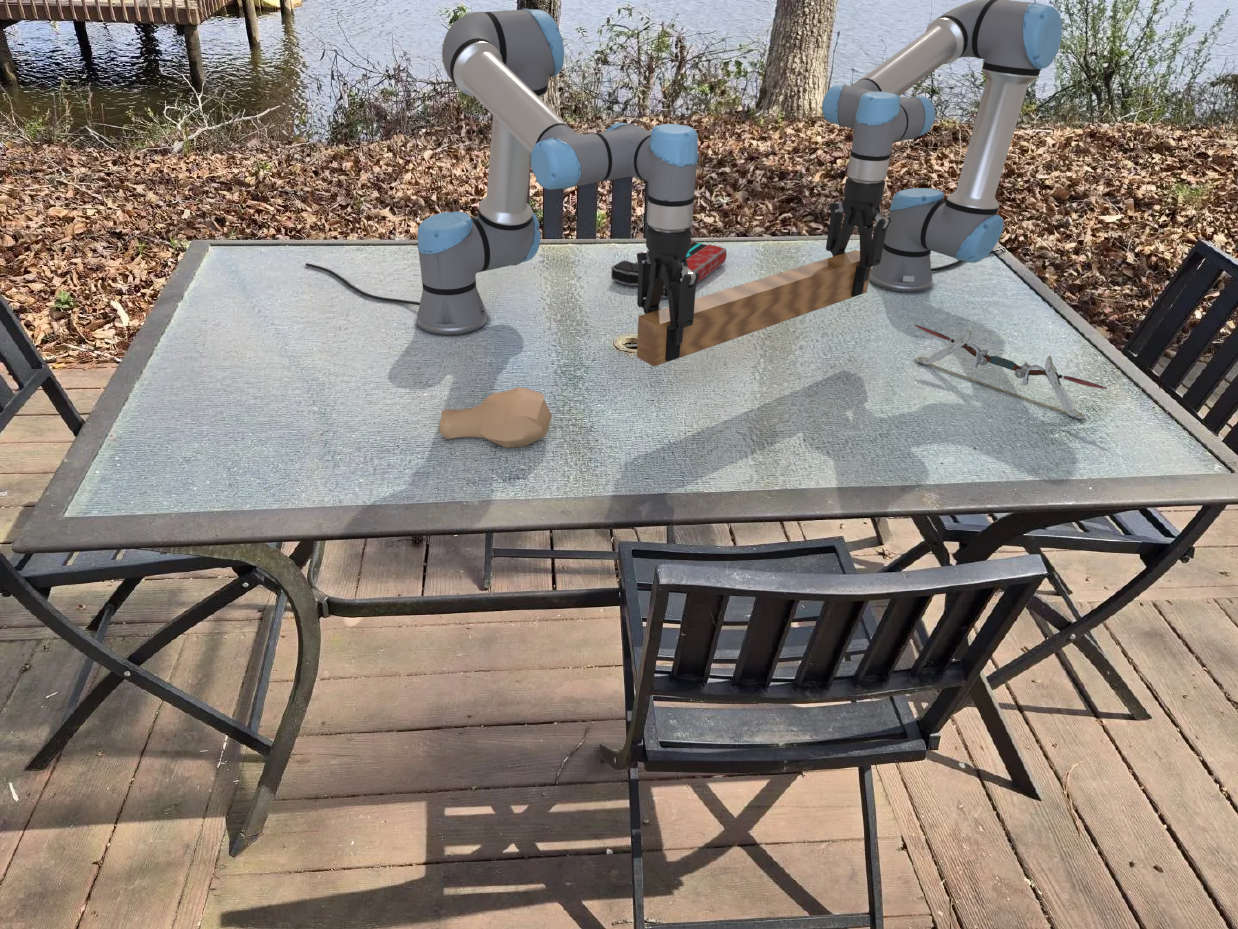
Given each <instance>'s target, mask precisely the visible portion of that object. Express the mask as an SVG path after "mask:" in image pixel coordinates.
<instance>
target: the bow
mask: <svg viewBox="0 0 1238 929" xmlns="http://www.w3.org/2000/svg"><path fill="white" fill-rule="evenodd" d="M914 326H915V327H916V328H918V329H920V330H921V331H924V333H925V332H926V333H928V334H930V335H932V336H935V337H937V338H940V339H943V340H946V341H949V342H950V343H951V345H949V346H945V347H943V348H941V349H939V350H937V351H935V352H934V353H933V354H931V355H930V356H927V357H923V356H918V357H917V358H916V361H917V362H918V363H920V364H922V365H929V366H931V367H934V368H937V369H940V370H943V371H946V372H949V373H952V374H954V375H957V376H960V377H963V378H966V379H969V380H971V381H973V382H976V383H979V384H983V385H985V386H988V387H991V388H993V389H997V390H999V391H1003V392H1005V393H1009V394H1010V395H1014V396H1016V397H1019V398H1022V399H1025V400H1027V401H1030V402H1033V403H1037V404H1040V405H1042V406H1045V407H1048V408H1050V409H1054V410H1056V411H1059V412H1062V413H1063V414H1064V413H1065V414H1067V415H1069V416H1070V417H1072V418H1075V419H1079V420H1082V419H1083V418H1085V416H1086V415H1085V414H1083V413H1082V412H1080V411H1079V410H1078V409H1076V408H1075V407H1074V405H1073V402H1072V399H1071V396H1070V395H1069V393H1068V391H1067V390H1066V388H1065V386H1064V385H1062V382H1061V380H1060V379H1062V378H1063V379H1064V380H1066V381H1069V382H1072V383H1076V384H1078V385H1082V386H1087V387H1090V388H1096V389H1103V390H1107V389H1108V387H1106V386H1103V385H1101V384H1097V383H1095V382H1091V381H1089V380H1084V379H1081V378H1078V377H1073V376H1070V375H1069V376H1068V375H1062V374H1059V372H1058V369H1057V367H1056V366H1055V364H1054V362H1053V358H1052V355H1048V356H1047V357H1046V359H1045V363H1044V367H1043V366H1040V365H1039V364H1033V365H1030V363H1028V362H1027V361H1025V362H1024V363H1023V364H1021V365H1018V364H1017V363H1016V362H1014V360H1010V359H1007V358H1004V357H1001V356H998V355H989V349H987V348H986V349H981V348H980V347H979V346H978V345H976V343H975V344H974V343H968V342H969V341H970V340H971V337H972V333H973V330H969V331H967V332H966V333H965V334H964V335H962V336H960V337H958V338H957V339H954V338H951V337H949V336H947V335H945V334H943V333H941V332H938V331H935V330H933V329H929V328H928V327H924V326H922V325H917V324H914ZM963 349H964V350H965V351H967V352H968V353H969V354H970V355H972V356H973V357H974V358H975V359H974V361H973V362H972V365H971V368H972V369H976V368H978V365H980V366H983V367H985V365H987V364H988V363H990V364H992V365H995V366H998V367H1002V368H1005V369H1007V370H1010V371H1014V376H1015V377H1016V378H1018V379H1022V381H1021V382H1022V383H1021V386H1024V387H1027V386H1028V385H1029V381H1030V378H1029V377H1030V376H1045V378H1047V380H1048V382H1049V383H1050V386H1051V387H1052V388H1053V390H1054V392H1055V395H1056V397H1057V398H1058V400H1059V403H1060V405H1061V407H1062V408H1063V410H1062V409H1059V408H1056V407H1053V406H1050V405H1047V404H1044V403H1042V402H1040V401H1036V400H1033V399H1030V398H1027V397H1025V396H1022V395H1019V394H1016V393H1013V392H1011V391H1007V390H1005V389H1002V388H999V387H996V386H994V385H991V384H988V383H985V382H982V381H979V380H976V379H974V378H971V377H969V376H966V375H962V374H959V373H957V372H953V371H951V370H948V369H945V368H942V367H940V366H937V365H934V364H933V363H936V362H939V361H941V360H943V359H944V358H946V357H948V356H949V355H951V354H953V353H955V352H958V351H960V350H963Z"/></svg>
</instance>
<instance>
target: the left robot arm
mask: <svg viewBox="0 0 1238 929" xmlns="http://www.w3.org/2000/svg"><path fill="white" fill-rule="evenodd" d="M441 51H442V52H441V54H442V55H441V57H442V61H443V67H444V70H445V72H446V74H447V76H448V78H449V79H450V80H451V82H452V84H454V85H455V87H456V88H457V89H458V90H459V91H460V92H462V93H463V94H465V95H466V96H470V97H475V99H476V100H477V101H478V102H479V103H480V104H481V105H482V106H483V107H484V108H485V109H486V110H487V111H488V112H489V113H490V114H491V115H492V122H491V136H490V148H489V160H488V161H489V162H488V173H487V188H486V197H484V198H482V199H481V201H480V202H479V204H478V211H477V215H476V216H473V217H471V216H470V215H469V214H468V213H466V212H463V211H456V210H455V211H452V212H450V211H444V212H440V213H436V214H433V215H431V216H429V217H427V218H425V219H424V220H423V221H422V222H420V224H419V226H418V227H417V232H416V233H417V245H416V248H417V250H418V258H419V259H418V260H419V267H420V275H421V276H420V277H421V284H422V292H421V297H420V301H413V300H405V299H399V298H391V297H383V296H378V295H373V294H370V293H367V292H365V291H362V290H361V289H360V288H358V287H356V286H354V285H352V284H351V283H350V282H348V281H347V280H346V279H345V278H343V277H342V276H341V275H339V274H337V273H336V272H334V271H332V269H328V268H326V267H323V266H320V265H316V264H312V263H308V262H306V263H305V266H306V267H309V268H313V269H317V270H319V271H324V272H326V273H328V274H330V275H332V276H333V277H335V278H337V279H338V280H339V281H341V282H343V283H344V284H345V285H346V286H348V287H349V288H350V289H352V290H353V291H355V292H357V293H359V294H360V295H362V296H365V297H367V298H370V299H374V300H378V301H383V302H390V303H398V304H400V303H401V304H407V305H412V306H413V305H414V306H418V310H417V315H416V318H417V325H418V326H419V328H420V329H421V330H423V331H424V332H427V333H430V334H433V335H440V336H459V335H465V334H469V333H473V332H476V331H477V330H480V329H481V328H483V327H484V326H485V325H486V323H487V320H488V316H487V310H486V306H485V304H484V302H483V299H482V298H481V295H480V293H479V291H478V288H477V278H476V277H477V276H476V274H477V273H478V274H479V273H483V272H488V271H492V270H496V269H501V268H506V267H510V266H517V265H521V264H522V263H526V262H529V261H531V260H532V259H533V258H534V257H535V256H536V254H537V253H538V251H539V248H540V244H541V238H542V237H541V235H542V234H541V233H542V232H541V230H540V226H541V225H540V222H539V218H538V217H537V215H536V214H535V213H534V211H533V208H532V206H531V205H530V204H529V203H528V194H529V186H530V178H531V177H530V176H531V171H532V174H533V175H534V176H535V180H536V182H537V184H538V185H539V186H540V187H541V188H543V189H546V190H550V191H551V190H559V189H561V190H567V189H571V188H574V187H581V186H585V185H589V184H590V185H591V184H595V183H601V182H607V181H613V180H618V179H624V178H629V177H631V178H632V177H634V178H636V179H638V180H642V181H643V182H646V183H648V184H647V186H648V190H647V192H648V193H647V207H646V223H647V227H646V232H645V233H646V234H645V235H646V236H645V247H646V250H644V251H639V252H637V254H636V259H637V260H636V261H638V265H639V270H638V286H637V299H636V305H637V307H638V308H641V309H643V313H644V314H647V313H650V312H654V311H657V310H660V309H662V308H661V306H660V303H661V299H662V297H661V296H662V292H663V288H664V287H665V289H667V294H668V298H667V302H668V307H669V313H670V323H671V325H669V326H667V338H666V355H665V360H666V361H667V362H666V363H669V362H672V361H675V360H678V359H680V358H679V356H680V344H681V343H682V341H683V328H685V327H688V326H691V325H693V318H694V305H695V299H696V291H697V290H696V289H697V284H698V283H697V281H698V279H699V273H698V272H692V271H691V270H690V269H689V268H688V263H687V259H686V255H687V253H688V251H689V250H690V248H691V239H693V238H692V236H693V229H692V227H691V226H692V225H693V221H694V204H695V192H696V180H697V169H698V160H699V135H698V132H697V131H696V129H694V128H693V127H692V126H689V125H684V124H683V125H682V124H679V123H664V124H663V123H662V124H658V125H656V126H654V127H653V128H652V129H651V131H650V130H648V129H645V128H642V127H640V126H639V125H636V124H634V123H627V122H617V123H614V124H612V125H611V126H609V127H608V128H606V130H604V131H600V132H592V133H591V132H590V133H586V134H585V133H584V134H578V133H577V132H576V131H575V130H574V129H573V128H572V127H570V126H569V125H568V124H567V123H566V121H565V120H563V118H561V117H560V116H559V115H558V113H556V112H555V110H553V109H552V108H551V107H550V106H549V104H547V103H546V102H545V101H544V100H542V97H543V96H544V95H546V94H547V92H548V88H549V80H550V78H553V77H556V76H557V75H558V74H559V73H560V72H561V71H562V70H563V67H564V62H565V47H564V42H563V37H562V34H561V32H560V28H559V27H558V24H557V22H556V21H555V19H554V18H553V17H552V15H550V14H549V13H548V12H547V11H545V10H544V9H543V10H542V9H529V8H522V9H509V10H494V11H493V10H492V11H473V12H470V13H466V14H465V15H462V16H461V17H459V18H458V19H457V20H455V21H454V22H453V24H451V25H450V27H449V28H448V30H447V32H446V34H445V36H444V39H443V42H442V50H441ZM675 281H676V282H675ZM672 282H673V283H672ZM677 358H678V359H677ZM674 359H675V360H674Z"/></svg>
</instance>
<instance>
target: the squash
mask: <svg viewBox="0 0 1238 929" xmlns="http://www.w3.org/2000/svg"><path fill="white" fill-rule="evenodd" d="M440 414H441V417H440V422H439V430H438V431H439V433H440V434H441V435H442V436H443V437H444V438H445V440H447V439H449V440H451V439H457V438H469V437H471V438H473V437H474V438H480V439H486V440H488V441H490V442H492V443H494V444H496V445H498V446H501V447H503V448H504V449H505V448H506V449H511V448H525V447H527V446H529V445H532V444H533V443H536V442H537V441H539V440H541V439H543V438H545V437H546V435H547V433H548V431H549V428H550V424H551V420H552V417H553V416H552V413H551V411H550V408H549V407H548V404H547V403H546V401H545V395H544V393H541V392H539V391H535V390H532V389H530V388H525V387H515V388H512V389H509V390H506V391H498V392H493V393H491V394H490V395H488V396H487V397H485V398H484V399H483V401H482V402H481V403H479V404H478V405H477V404H476V406H474V407H471V408H470V407H469V408H463V409H447V408H446V409H444V410H441V411H440Z"/></svg>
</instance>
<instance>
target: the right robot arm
mask: <svg viewBox="0 0 1238 929" xmlns="http://www.w3.org/2000/svg"><path fill="white" fill-rule="evenodd" d="M1062 36H1063V22H1062V19H1061V15H1060V12H1059V11H1058V9H1057V8H1056V7H1054V6H1052V5H1048V4H1043V3H1039V2H1029V1H1020V0H971V1H969V2H966V3H963V4H961V5H959V6H956V7H954V8H952V9H950V10H948V11H946V12H945V13H943V14H942V15H940V16H939V17H937V18H935V19H934V20H933V21H931V22H930V23H929V25H928V26H927V27H926V30H925V32H924V33H923V34H921V35H920V36H919V37H917V38H916V39H914V40H913V41H911V42H910V43H908V44H907V45H906V46H904V47H903V48H901V49H900V50H898V51H897V52H896V53H895V54H893V55H892V56H890V57H889V58H888V59H887V60H885V61H884V62H882V63H881V64H879V65H878V66H877V67H875V68H874V69H872V70H871V71H869V72H868V73H867V74H865V75H863V77H861V78H860V79H858V80H857V81H856V82H854V83H853V84H852V85H847V84H833V85H832V86H831V87H829V89H828V90H827V91H826V93H825V95H824V97H823V100H822V103H821V108H822V116H823V118H824V119H825V121H826V122H829V123H831V124H834V125H837V126H839V127H844V128H849V129H852V130H853V134H852V135H853V137H852V142H851V143H852V144H851V148H850V154H849V158H848V164H847V171H846V175H847V177H846V179H845V182H844V183H845V184H844V189H843V197H844V198H843V199H842V201H836V202H833V203H830V205H829V209H830V219H829V226H828V231H827V238H826V245H825V250H826V251H827V252H829V253H831V255H832V257H834V256H837V255H840V254H844V253H847V251H846V249H847V246H848V244H849V241H850V239H851V237H852V234H853V232H854V229H855V227H856V228H857V233H858V234H859V251H860V265H858V266H856V271H855V277H854V282H853V288H852V293H851V296H852V298H856V297H858V296H860V295H861V296H862V295H863V294H862V293H863V287H864V282H865V281H867V280H868V277H869V271H870V267H872V268H871V273H870V278H869V282H871V283H872V284H873V285H874V286H877V287H878V288H881V289H883V290H887V291H889V292H890V291H891V292H896V293H904V294H905V293H906V294H915V293H921V292H925V291H928V290H929V289H930V288H931V287H932V284H933V283H932V282H933V273H932V272H938V271H943V270H947V269H950V268H953V267H956V266H958V265H960V264H962V263H963V262H966V263H971V264H975V263H979V262H982V260H984V259H985V258H986V257H987V256H989V255H993V254H995V253H997V252H998V251H1002V252H1003V253H1005V252H1006V249H1005V247H1003V249H1004V250H1005V251H1003V250H1002V249H1000V250H996V251H992V250H994V249H995V247H996V245H997V244H998V242H999V240H1000V238H1001V236H1002V234H1003V230H1004V218H1003V217H1002V216H1001V215H999V214H998V211H999V208H1000V203H999V202H998V200H997V199H996V195H997V191H998V187H999V184H1000V181H1001V177H1002V175H1003V171H1004V167H1005V164H1006V159H1007V157H1008V154H1009V151H1010V147H1011V144H1012V141H1013V136H1014V133H1015V131H1016V126H1017V123H1018V120H1019V117H1020V113H1021V111H1022V107H1023V104H1024V101H1025V97H1026V93H1027V90H1028V87H1029V85H1030V84H1031V83H1032V82H1033V81H1035V80H1036V79H1038V78H1039V77H1040V76H1039V75H1040V73H1041V71H1042V70H1043V69H1046V68H1048V67H1050V65H1051V64H1052V63H1053V62H1054V60H1055V57H1057V55H1058V52H1059V49H1060V46H1061V42H1062ZM960 58H961V59H962V58H976V59H981V60H983V64H982V68H981V71H982V73H983V74H984V76H985V79H986V80H985V84H984V87H983V91H982V95H981V99H980V102H979V107H978V109H977V113H976V116H975V120H974V123H973V128H972V132H971V134H970V139H969V142H968V146H967V150H966V153H965V157H964V160H963V163H962V168H961V170H960V175H959V179H958V182H957V185H956V189H955V190H954V192H951V193H950V194H949V195H947V197H946V200H944V199H945V193H944V191H942V190H940V189H938V188H937V189H935V188H929V187H927V188H926V187H922V188H921V187H916V188H906V189H902V190H899V191H897V192H896V193H895V194H894V195H893V197H892V199H891V200H892V201H891V203H890V206H889V209H888V210H889V212H888V216H887V217H886V216H884V214H882V213H881V206H880V204H881V202H882V200H883V197H884V192H885V187H886V182H885V180H886V178H887V175H888V171H889V165H890V160H891V153H892V149H893V144H895V143H899V142H903V141H907V140H915V139H917V138H919V137H921V136H923V135H925V134H927V133H928V132H929V131H930V130H931V128H932V127H933V125H934V122H935V120H936V111H935V110H936V109H935V106H934V104H933V102H932V100H930V99H929V98H928V97H925V96H919V95H918V96H916V95H912V96H909V97H904V96H901V95H903V94H904V93H905V92H906V91H909V89H911V88H912V87H913V86H915V85H917V84H918V83H919V82H920V81H922V80H923V79H925V78H926V77H927V76H928V75H930V74H931V73H933V72H934V71H936V70H937V69H938V68H939V67H941V66H942V65H943V64H945V65H948V64H951V63H954V62H955V61H957V60H958V59H960ZM874 221H875V223H874ZM998 247H999V248H1000V247H1001V246H998ZM932 252H934V253H937V254H940V255H944V256H947V257H950V258H953V259H955V260H957V261H955V262H952V263H949V264H945V265H942V266H938V267H932V263H931V254H932Z"/></svg>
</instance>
